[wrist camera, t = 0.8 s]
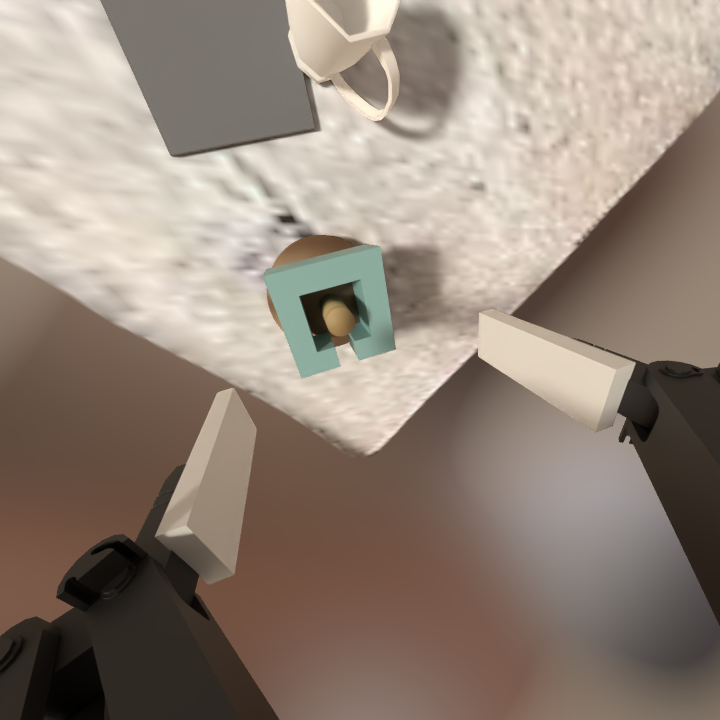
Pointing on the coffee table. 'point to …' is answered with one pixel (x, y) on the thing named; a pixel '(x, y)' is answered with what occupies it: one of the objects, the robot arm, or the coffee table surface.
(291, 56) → the mat
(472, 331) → the coffee table surface
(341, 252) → the link
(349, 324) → the stand
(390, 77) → the cup
